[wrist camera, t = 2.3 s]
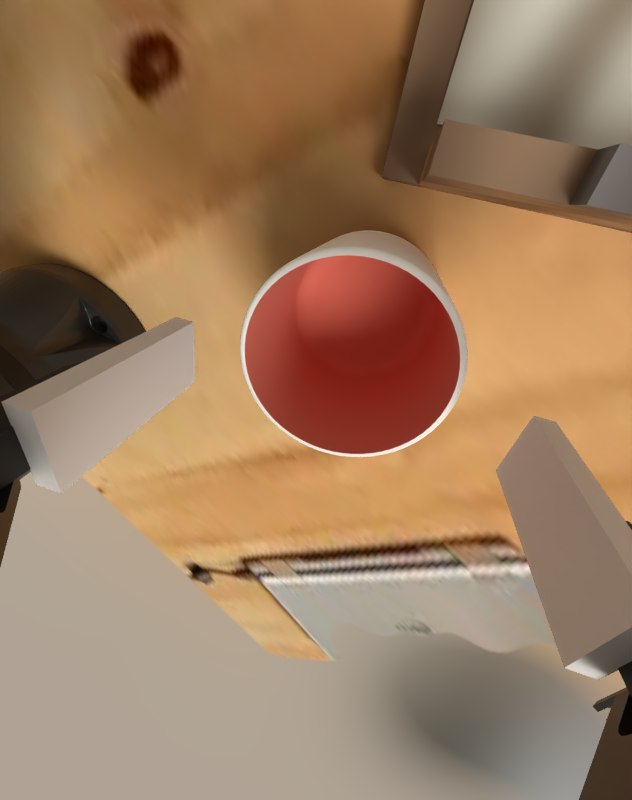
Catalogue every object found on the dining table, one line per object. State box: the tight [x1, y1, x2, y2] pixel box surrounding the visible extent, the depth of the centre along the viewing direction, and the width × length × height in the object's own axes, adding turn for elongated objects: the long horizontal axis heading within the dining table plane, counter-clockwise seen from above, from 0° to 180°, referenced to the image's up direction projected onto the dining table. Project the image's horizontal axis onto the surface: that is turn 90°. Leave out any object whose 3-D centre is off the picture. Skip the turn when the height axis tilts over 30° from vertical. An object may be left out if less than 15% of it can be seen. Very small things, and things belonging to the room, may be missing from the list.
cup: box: [240, 230, 468, 457], centre depth 18 cm, size 10×10×10 cm
